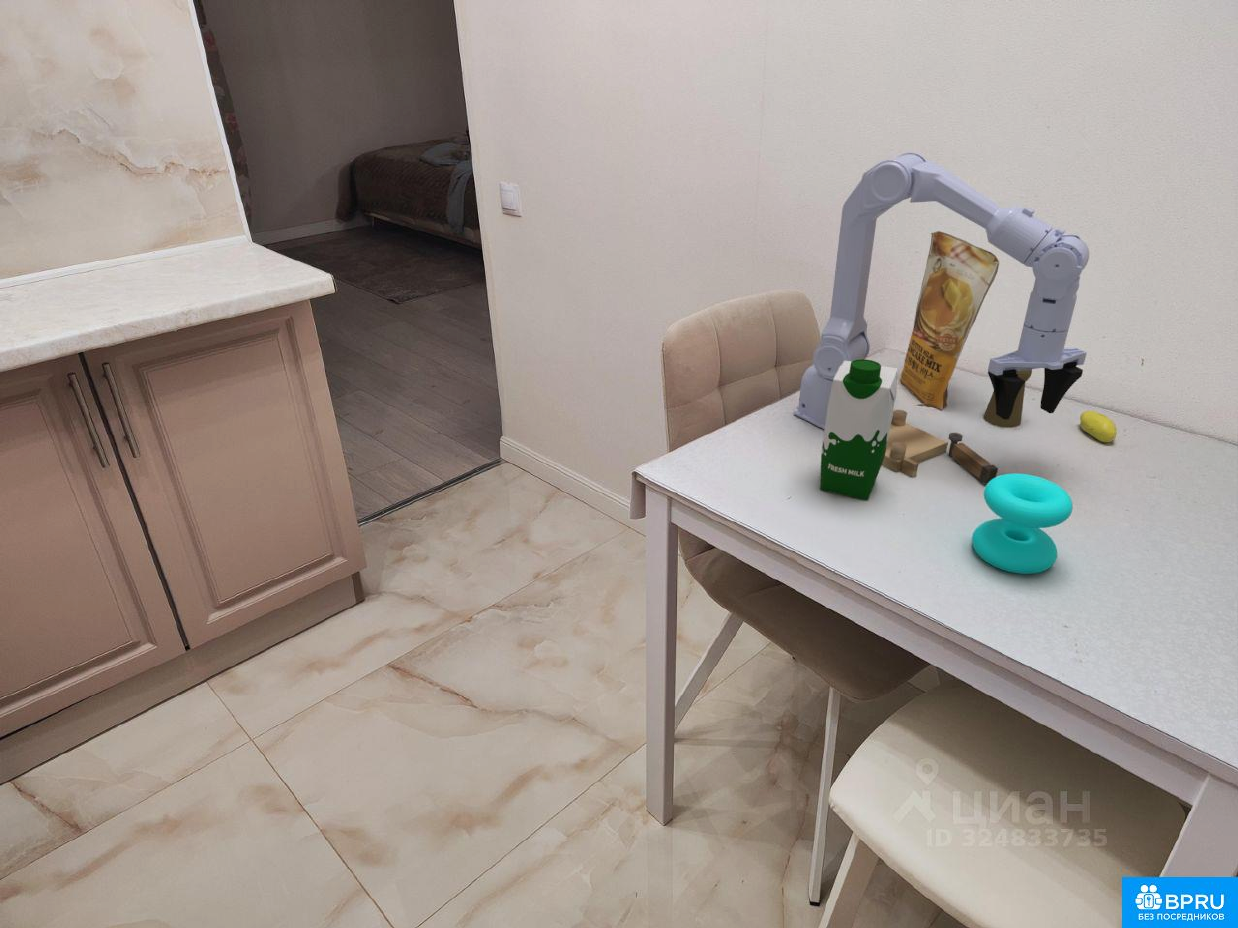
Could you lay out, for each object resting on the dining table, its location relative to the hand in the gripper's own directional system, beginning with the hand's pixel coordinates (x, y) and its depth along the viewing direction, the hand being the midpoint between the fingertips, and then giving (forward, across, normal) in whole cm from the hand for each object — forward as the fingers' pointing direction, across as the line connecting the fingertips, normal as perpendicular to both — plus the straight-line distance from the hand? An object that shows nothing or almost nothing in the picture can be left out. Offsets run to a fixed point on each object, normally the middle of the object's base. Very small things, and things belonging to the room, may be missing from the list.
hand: (1024, 413), depth 117 cm
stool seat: (+9, -13, +9) cm, 18 cm away
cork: (+10, +10, +16) cm, 21 cm away
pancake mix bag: (+9, +4, +30) cm, 31 cm away
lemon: (+10, +22, +7) cm, 25 cm away
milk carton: (+9, -26, +2) cm, 28 cm away
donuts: (+10, -15, -19) cm, 26 cm away
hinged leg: (+9, -6, +1) cm, 11 cm away
